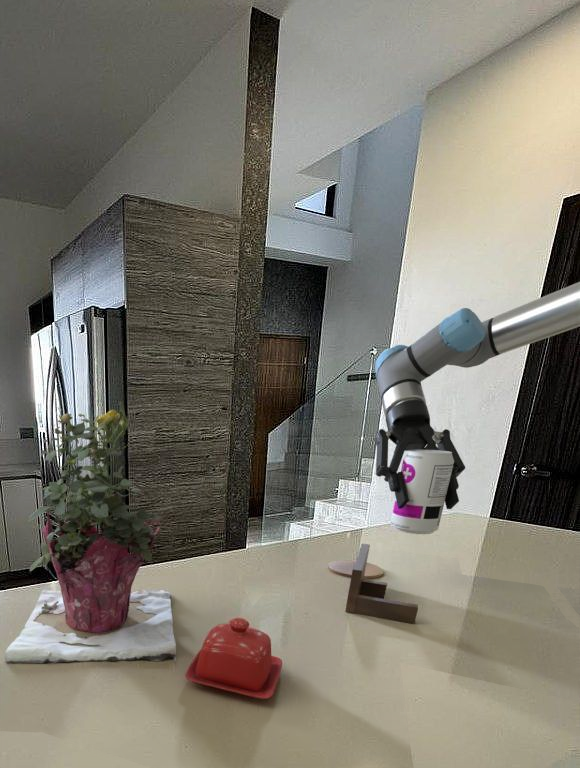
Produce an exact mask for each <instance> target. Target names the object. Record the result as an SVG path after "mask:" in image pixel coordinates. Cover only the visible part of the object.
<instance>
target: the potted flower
mask: <svg viewBox="0 0 580 768" xmlns="http://www.w3.org/2000/svg"><path fill="white" fill-rule="evenodd" d="M118 405H119V410H118V412H117V410H115V409H110V410H109V411H107V412H106V413H104V414H101V416H99V415H98V414H97V415H96V417H95V418H94V420H93V422H91V420H90V419H88V418H87V417H86V416H85V414H83V413H78V417H79V418H81V419H80V421H82V422H81V423H77V424H75V425H74V424H72V422H71V420H73V416H72V415H73V413H65V414H63V415H62V416H61V414H62V413H61V409H60V408H59V407H57V409H58V411H59V415H58V418H59V420H58V421H57V423H59V424H61V426H57V427H55V426H56V424H54V425H52V428H53V430H54V434H55V435H58V437H59V438H58V437H53V438H50V440H51V441H50V442H49V444H48V446H47V447H48V450H49V452H48V451H46V449H42V450H41V449H40V452H41V453H40V456H41V458H42V457H44V455H45V454H46V456H45V458H44V459H45V461H49V462H51V463H52V461H53V460H54V459H55V457H56V456H57V453H59V455H58V457H59V458H61V457H62V455H63V453H65V452H66V453H67V455H66V457H65V462H64V463H63V466H62V465H61V466H59V467H58V468H59V470H58V472H60V473H61V478H60V479H58V481H49V482H48V486H45V487H44V488H42V491H44V492H43V493H44V494H43V495H44V497H42V499H43V500H45V499H46V498H48V497H49V500H50V503H52V504H53V506H49V505H46V506H45V505H44V506H40V507H38V508H37V509H36V510H35V511H34V512H32V513H31V515H29V516H28V524H30V523H31V522H33V521H34V520H36V519H37V518H39V516H42V515H43V514H44V513H45V512H46V513H47V515H46V516H47V522H46V525H45V526H44V528H43V529H42V534H43V537H44V540H45V543H44V542H41V543H40V551H41V553H42V556H40V557H39V558H38V559H36V560H35V561H34V562H33V563H32V564H31V565H30V568H29V572H32V571H33V570H35V569H36V568H37V567H38V565H39V564H41V563H43V564H44V565H47V564H48V563H49V562H50V561H51V563H52V566H53V568H54V570H55V573H56V577H57V581H58V585H59V586H60V587H59V588H60V590H51V589H50V590H49V589H42V590H41V593H40V595H39V597H38V599H37V601H36V603H35V606H34V609H33V610H32V611H31V614H30V616H29V618H28V619H27V621H26V622H25V625H24V626H23V628H24V629H22V630H21V631H20V633H19V635H18V636H17V637H15V638H14V640H13V642H11V643H10V644H9V646H8V647H7V648H6V650H5V652H4V663H6V664H7V663H8V664H45V663H47V662H52V663H53V664H56V663H60V662H61V663H64V662H65V663H73V662H79V663H81V662H82V661H83V662H85V661H90V662H93V661H95V662H102V661H106V662H108V661H109V662H110V661H112V662H114V661H117V662H118V661H119V660H123V661H134V660H146V661H149V662H150V661H151V662H163V661H165V660H167V659H168V658H170V659H171V658H172V659H173V660H174V662H175V664H177V657H176V654H177V653H176V652H177V651H176V650H177V647H176V646H177V643H176V639H175V635H174V624H173V623H174V618H173V614H172V603H171V602H172V601H171V592H170V589H169V590H168V589H162V590H160V589H153V588H149V589H144V590H137V591H134V592H132V587H133V583H134V581H135V578H136V575H137V573H138V571H139V570H140V568H141V566H142V565H143V563H144V561H146V562H149V563H151V562H152V558H153V554H152V552H151V551H150V550H151V548H152V546H153V544H154V542H155V538H156V535H157V534H158V532H159V531H160V530H161V528H162V526H161V525H163V522H161V521H164V518H165V515H163V512H161V514H160V513H159V511H157V512H155V513H149V514H148V513H147V511H146V510H145V509H143V508H140V509H138V511H137V513H136V512H129V509H130V510H135V508H134V506H131V505H129V504H126V503H125V502H124V501H122V498H125V497H129V496H130V495H131V494H145V495H148V496H150V497H152V498H155V496H154V495H152V494H151V493H149V491H146V490H145V491H141V489H140V488H135V487H133V482H132V480H131V481H130V480H129V479H127V478H125V477H123V473H122V469H123V468H124V465H122V462H121V461H120V460H115V461H112V460H110V456H121V455H122V454H123V451H121V449H122V447H121V446H120V444H119V443H120V440H119V438H121V437H124V436H125V435H126V430H127V429H128V428H129V426H130V421H129V419H128V417H127V416H126V412H125V406H124V403H123V401H120V402H119V403H118ZM121 414H122V416H121ZM82 417H83V419H82ZM119 419H120V420H119ZM118 420H119V422H117V421H118ZM85 423H87V424H88V423H89V424H91V425H92V426H88V427H86V425H85ZM94 423H96V424H97V426H96V425H95V424H94ZM60 428H61V430H60ZM111 429H112V430H111ZM65 431H66V432H67V433H65V434H64V432H65ZM93 431H95V432H93ZM101 431H104V432H105V434H102V433H101ZM96 432H97V433H96ZM70 433H71V434H72V435H71V434H70ZM116 433H117V437H116V435H115V434H116ZM95 434H96V435H99V437H98V439H99V440H98V439H97V436H96V437H95ZM131 434H132V435H133V434H134V432H133V431H132V432H131ZM115 437H116V438H115ZM113 438H115V439H114V440H113ZM148 438H149V439H150V440H151V441H156V439H155V438H154V437H152V436H149V437H148ZM60 439H61V440H60ZM79 439H80V442H81V443H80V442H79ZM59 440H60V442H61V444H56V445H55V447H57V448H58V449H56V450H53V448H54V445H53V442H55V441H59ZM75 440H76V443H77V444H80V445H79V446H77V447H75V448H74V449H73V450H72V448H73V447H74V445H73V444H71V446H70V449H69V446H68V445H67V443H68V442H69V443H73V441H75ZM83 440H88V441H89V443H88V444H85V445H84V442H83ZM104 440H105V441H104ZM48 441H49V440H48V439H43V440H42V442H43V443H44V444H45V443H47V442H48ZM100 443H101V444H100ZM108 444H112V446H111V447H108ZM122 444H123V445H124V446H123V449H125V448H126V447H127V446H129V445H131V442H129V443H128V444H127V445H126V443H125V442H122ZM63 445H64V447H63ZM69 451H70V452H69ZM69 457H70V458H69ZM86 458H89V459H90V460H91V461H92V462H93V465H84V466H83V465H79V466H77V465H76V464H77V460H78V461H79V462H83V461H84V460H85V459H86ZM100 463H101V464H103V465H100ZM112 464H115V465H121V466H120V467H119V469H118V471H113V472H112V475H110V474H109V472H110V471H109V469H110V467H109V466H111V465H112ZM65 466H66V467H65ZM69 466H70V469H68V468H69ZM64 467H65V469H64V470H63V469H62V468H64ZM83 471H89V472H91V473H92V474H93V476H94V477H91V475H89V473H87V474H85V475H84V476H82V475H81V474H82V473H83ZM67 475H68V477H67ZM69 477H70V478H71V479H72V480H71V479H70V478H69ZM138 477H139V478H141V477H142V475H139V474H138V475H133V476H132V478H134V479H135V478H138ZM112 478H118V479H121V482H119V483H117V484H112V482H114V481H115V480H114V479H112ZM75 479H76V480H75ZM64 481H67V483H64ZM135 484H140V481H137V482H135ZM131 487H133V488H131ZM129 488H131V489H129ZM68 489H69V490H70V492H69V493H68V494H65V493H66V492H67V491H68ZM115 490H119V491H121V490H127V491H128V492H129V493H128V494H121V493H120V492H118V491H117V492H116V494H115V493H114V492H115ZM89 492H90V493H89ZM113 493H114V494H113ZM65 500H67V503H66V502H65ZM69 507H71V509H70V510H67V511H66V508H67V509H69ZM51 509H53V510H54V519H51V517H50V513H49V512H50V510H51ZM109 513H110V514H109ZM161 515H163V516H161ZM152 516H153V518H151V517H152ZM59 517H60V518H59ZM62 520H67V521H69V522H68V523H67V522H65V521H64V522H63V521H62ZM55 523H57V525H58V526H57V527H56V528H55V529H53V524H55ZM150 523H151V524H150ZM43 524H44V522H42V523H39V524H37V525H35V526H31V528H30V530H37V531H39V530H41V525H43ZM154 524H156V525H159V526H157V527H156V529H154V528H152V527H153V526H154ZM97 525H99V528H100V532H99V531H98V530H97V528H96V526H97ZM77 530H78V531H77ZM154 531H155V532H154ZM152 532H153V533H152ZM55 535H57V537H56V538H54V536H55ZM130 546H131V547H133V548H130ZM129 549H130V552H129V551H128V550H129ZM130 603H140V604H142V605H138V606H135V610H140V611H142V612H143V613H144V614H153V615H154V616H152V617H150V618H149V619H147V620H145V621H142V622H140V623H137V624H134V625H131V626H128V627H123V628H121V629H119V630H115V629H117V627H122V626H123V625H124V623H125V621H127V619H128V616H129V611H130ZM64 612H65V615H64V616H65V624H67V625H68V626H69V627H70V628H72V629H74V630H77V631H81V632H88V633H94V634H95V633H96V634H98V633H101V632H107V631H108V630H110V631H111V630H112V632H109V633H107V634H102V635H92V636H90V637H88V636H85V637H83V638H82V637H78V636H77V633H74V632H68V633H65V632H61V631H59V630H57V629H56V628H55V627H53V626H51V625H47V624H45V625H44V623H42V622H37V621H35V620H36V619H37V617H39V616H40V614H45V613H47V614H52V613H53V614H54V615H59V614H62V613H64ZM113 630H114V631H113ZM75 644H83V645H85V646H82V645H81V646H80V645H75Z"/></svg>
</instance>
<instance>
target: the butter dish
mask: <svg viewBox="0 0 580 768" xmlns="http://www.w3.org/2000/svg"><path fill="white" fill-rule="evenodd" d="M228 622H229V623H220V624H217V625H214V627H213V628H211V630H210V631H209V632H208V633H207V635H206V637H205V639H204V640H203V643H202V647H201V648H200V650H199V651H198V652H197V654H195V657H194V658H193V659H192V661H191V663H190V665H189V666H188V667H187V670H186V671H185V673H184V678H185V679H186V680H187V681H190V682H192V683H195V684H199V685H204V686H207V687H211V688H216V689H221V690H224V691H227V692H228V691H229V692H232V693H235V694H240V695H244V696H247V697H252V698H255V699H262V700H268V699H271V698H272V697H273V696H274V693H275V690H276V688H277V684H278V682H279V678H280V674H281V671H282V666H283V661H282V659H281V658H280V657H278V656H276V655H272V641H271V637H270V636H269V635H268V633H265V632H264V631H262V630H259V629H257V628H254V627H251V626H250V622H249V621H248V620H247V619H245V618H242V617H234V618H231V619H230V620H229V621H228Z"/></svg>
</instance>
